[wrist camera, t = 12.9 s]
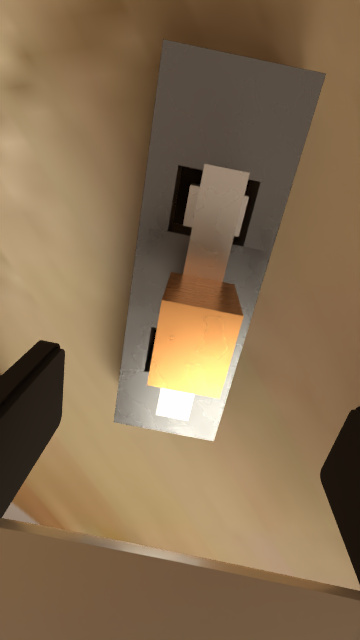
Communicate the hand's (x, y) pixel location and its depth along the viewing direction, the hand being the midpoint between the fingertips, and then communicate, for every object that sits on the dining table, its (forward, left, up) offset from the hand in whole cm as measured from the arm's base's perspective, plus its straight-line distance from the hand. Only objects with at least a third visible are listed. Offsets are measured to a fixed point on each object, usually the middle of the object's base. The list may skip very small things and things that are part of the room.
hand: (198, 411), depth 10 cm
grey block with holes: (0, 0, -15) cm, 15 cm away
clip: (0, 0, -15) cm, 15 cm away
